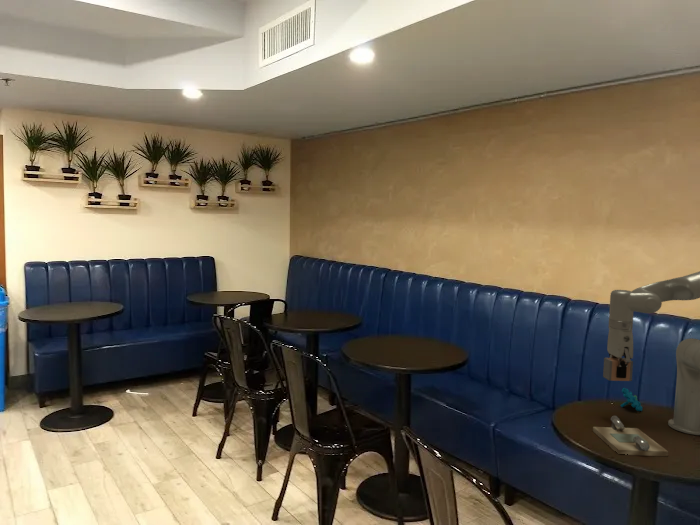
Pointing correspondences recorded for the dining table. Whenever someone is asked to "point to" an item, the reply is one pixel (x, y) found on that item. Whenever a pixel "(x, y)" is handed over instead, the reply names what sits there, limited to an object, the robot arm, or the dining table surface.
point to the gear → (631, 400)
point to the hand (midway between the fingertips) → (617, 375)
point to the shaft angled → (617, 423)
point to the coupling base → (628, 441)
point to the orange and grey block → (611, 370)
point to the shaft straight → (641, 443)
